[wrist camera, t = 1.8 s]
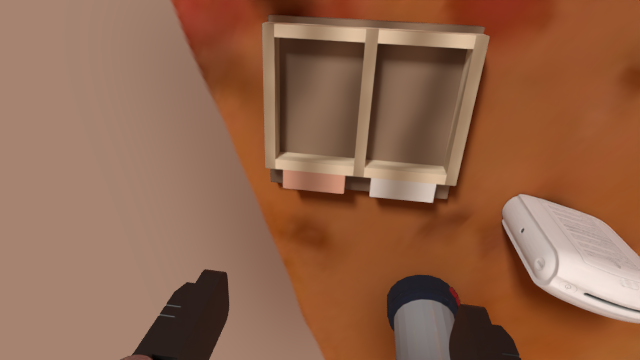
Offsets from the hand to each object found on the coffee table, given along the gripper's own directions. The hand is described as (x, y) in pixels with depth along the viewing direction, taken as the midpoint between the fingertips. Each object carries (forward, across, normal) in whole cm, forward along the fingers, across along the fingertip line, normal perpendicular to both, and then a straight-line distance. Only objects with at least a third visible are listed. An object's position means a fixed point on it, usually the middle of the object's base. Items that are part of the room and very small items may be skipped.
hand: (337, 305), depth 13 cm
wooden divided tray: (+26, 0, 0) cm, 26 cm away
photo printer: (+26, -21, +10) cm, 35 cm away
